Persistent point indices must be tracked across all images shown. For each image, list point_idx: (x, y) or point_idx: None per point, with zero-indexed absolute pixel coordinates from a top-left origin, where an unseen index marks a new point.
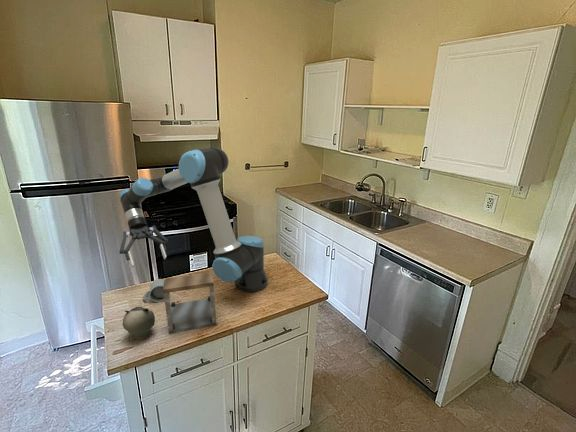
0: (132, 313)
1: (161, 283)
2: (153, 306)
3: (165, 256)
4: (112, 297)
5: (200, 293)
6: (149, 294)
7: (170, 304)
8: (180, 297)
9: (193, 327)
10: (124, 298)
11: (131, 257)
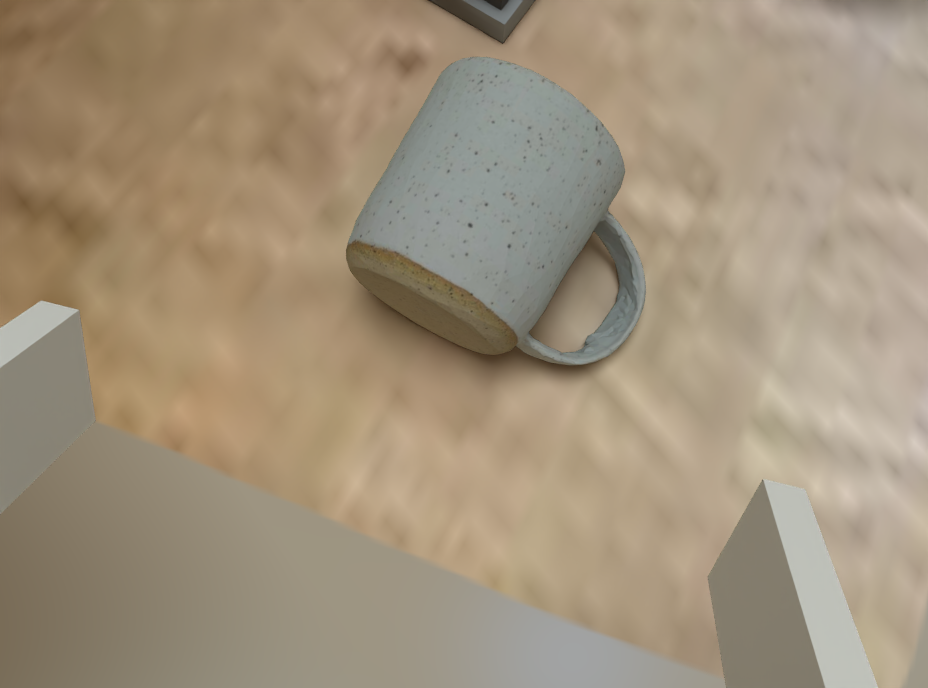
0: None
1: (471, 113)
2: None
3: (59, 307)
4: None
5: (188, 19)
6: (624, 171)
7: (503, 22)
8: (352, 101)
9: None
10: None
11: (823, 662)
